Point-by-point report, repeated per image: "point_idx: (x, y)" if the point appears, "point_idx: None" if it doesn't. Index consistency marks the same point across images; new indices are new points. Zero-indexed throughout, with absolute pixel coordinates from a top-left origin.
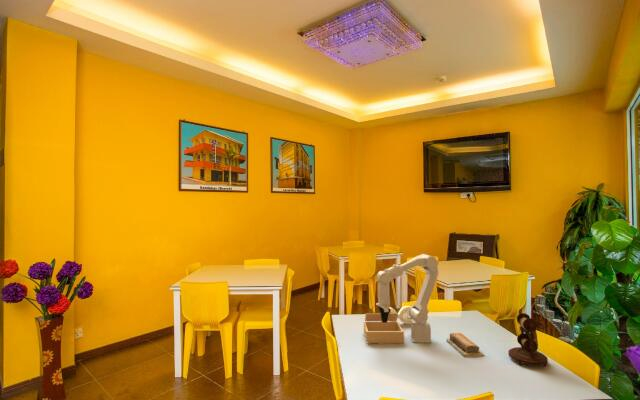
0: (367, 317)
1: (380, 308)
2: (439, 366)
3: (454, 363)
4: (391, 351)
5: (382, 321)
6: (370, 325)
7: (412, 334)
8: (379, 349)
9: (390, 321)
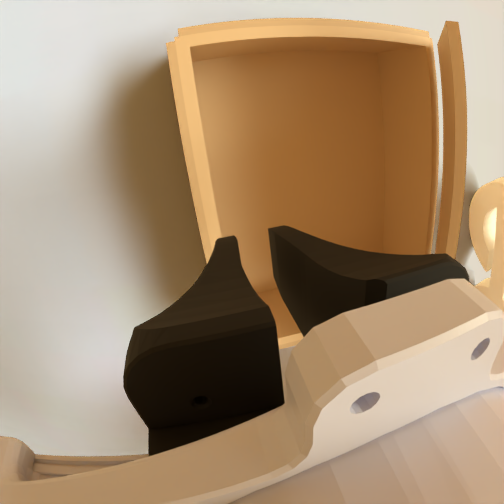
0: (443, 56)
1: (265, 366)
2: (43, 410)
3: (91, 443)
4: (84, 239)
5: (215, 242)
6: (411, 88)
7: (285, 367)
8: (91, 157)
9: (484, 233)
